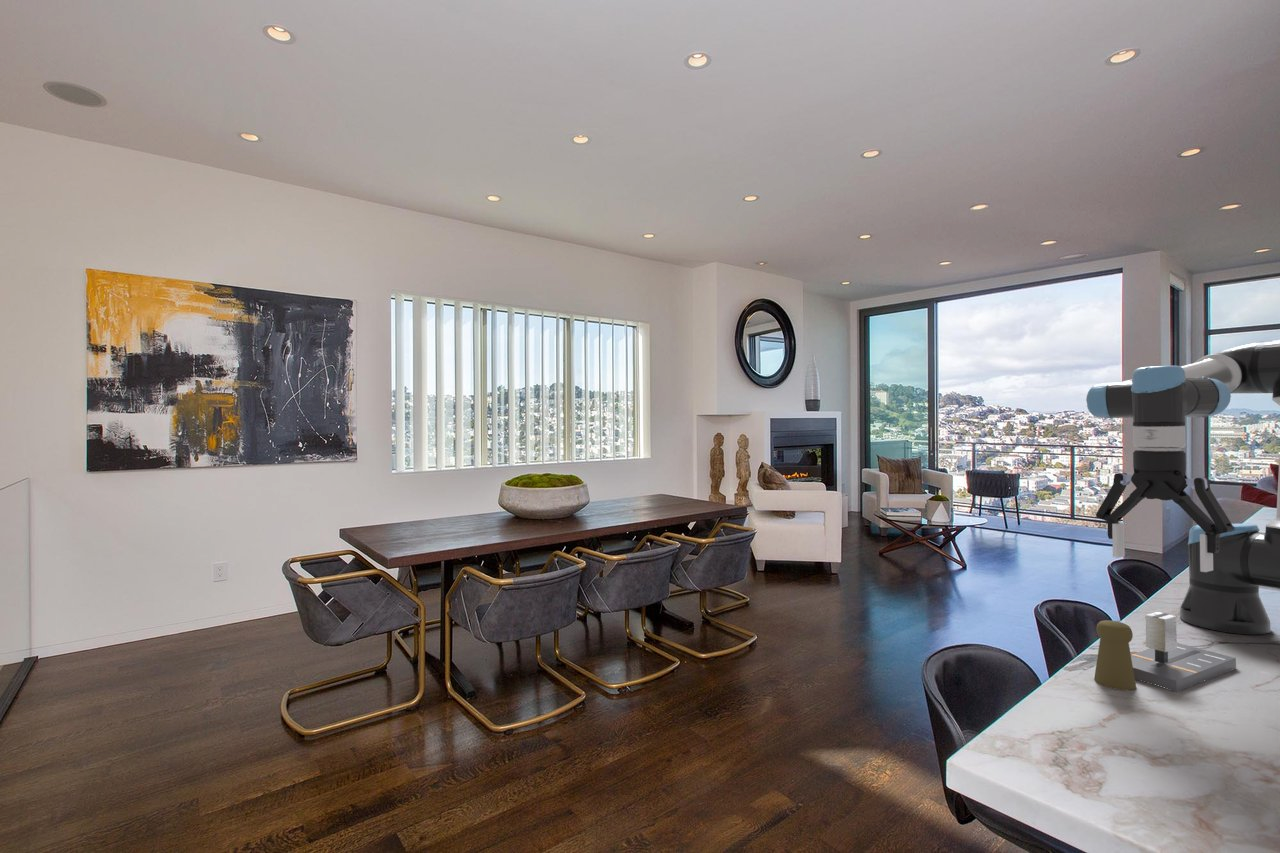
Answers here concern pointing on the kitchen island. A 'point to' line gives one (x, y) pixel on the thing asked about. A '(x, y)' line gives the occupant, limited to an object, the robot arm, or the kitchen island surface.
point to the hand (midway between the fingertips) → (1160, 563)
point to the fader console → (1180, 666)
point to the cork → (1114, 656)
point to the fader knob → (1161, 634)
